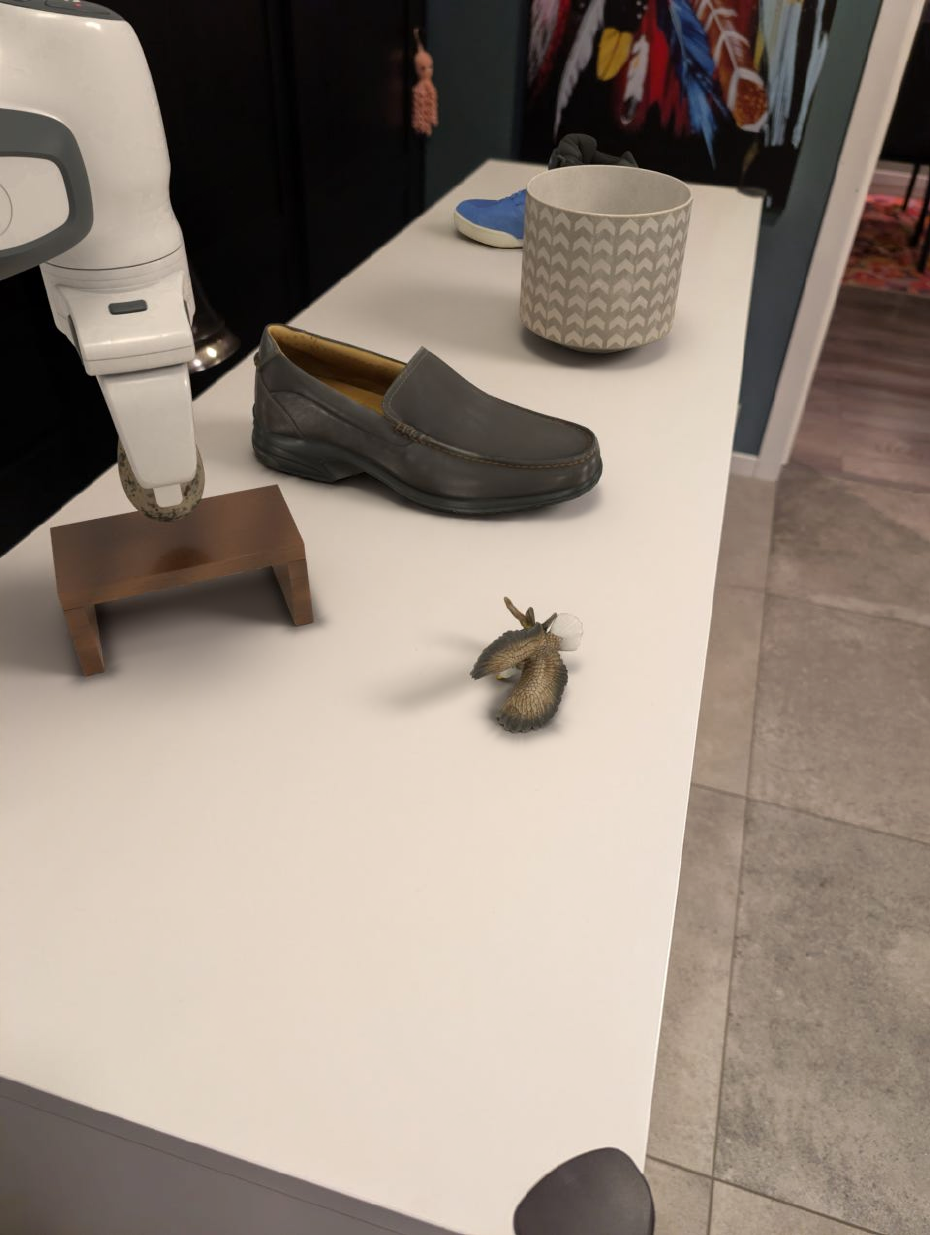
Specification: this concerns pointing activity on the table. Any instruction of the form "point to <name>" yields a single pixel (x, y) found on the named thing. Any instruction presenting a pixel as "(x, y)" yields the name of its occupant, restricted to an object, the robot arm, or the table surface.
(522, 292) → the planter
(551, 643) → the eagle figurine
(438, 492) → the loafer
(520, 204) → the sneaker
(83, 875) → the table surface
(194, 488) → the decorative egg
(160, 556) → the shelf
